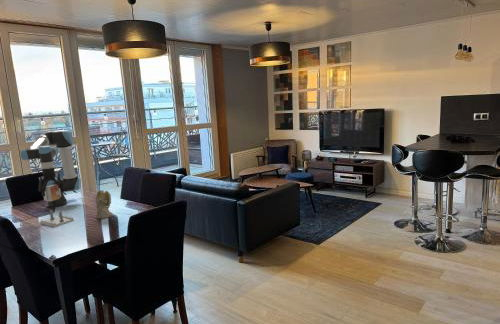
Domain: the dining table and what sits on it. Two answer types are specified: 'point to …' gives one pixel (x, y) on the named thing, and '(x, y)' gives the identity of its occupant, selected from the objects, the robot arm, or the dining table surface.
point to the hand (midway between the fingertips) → (52, 198)
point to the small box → (52, 192)
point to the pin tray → (57, 220)
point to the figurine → (103, 204)
